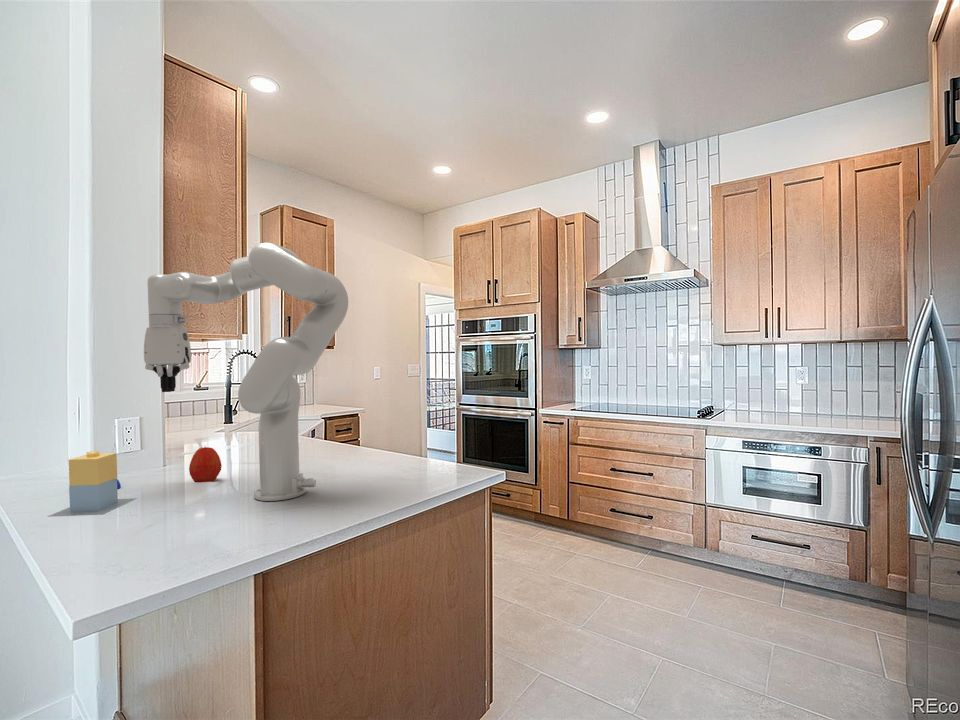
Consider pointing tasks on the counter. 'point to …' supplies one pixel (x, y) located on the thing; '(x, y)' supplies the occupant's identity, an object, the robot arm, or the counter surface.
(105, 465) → the ochre brick
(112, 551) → the counter surface
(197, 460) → the apple
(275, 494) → the robot arm
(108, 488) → the blue brick
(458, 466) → the counter surface
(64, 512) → the baseplate
